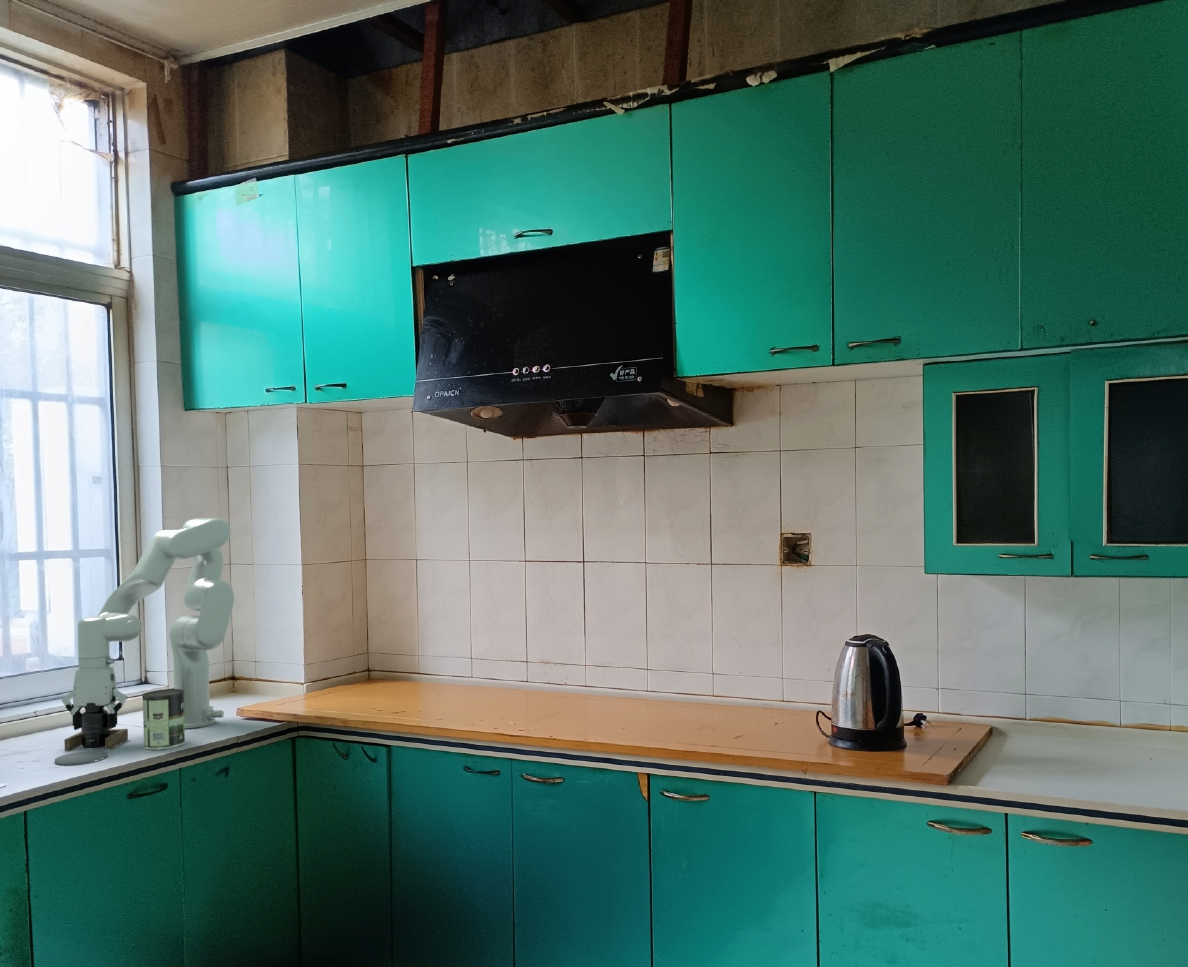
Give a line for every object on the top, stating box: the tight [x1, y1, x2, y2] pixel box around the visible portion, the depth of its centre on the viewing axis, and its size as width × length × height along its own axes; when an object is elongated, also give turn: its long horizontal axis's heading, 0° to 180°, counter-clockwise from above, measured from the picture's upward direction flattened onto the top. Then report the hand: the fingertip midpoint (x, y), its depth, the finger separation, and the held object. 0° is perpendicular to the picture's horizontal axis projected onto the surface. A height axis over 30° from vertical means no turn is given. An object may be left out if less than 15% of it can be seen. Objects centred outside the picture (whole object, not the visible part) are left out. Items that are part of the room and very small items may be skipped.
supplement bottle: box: [80, 703, 110, 749], centre depth 267 cm, size 7×7×12 cm
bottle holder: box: [63, 728, 129, 752], centre depth 268 cm, size 12×11×3 cm
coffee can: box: [141, 688, 186, 751], centre depth 266 cm, size 10×10×14 cm
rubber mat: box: [54, 750, 109, 766], centre depth 253 cm, size 12×12×1 cm
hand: (95, 728), depth 267 cm, fingers open, 8 cm apart
